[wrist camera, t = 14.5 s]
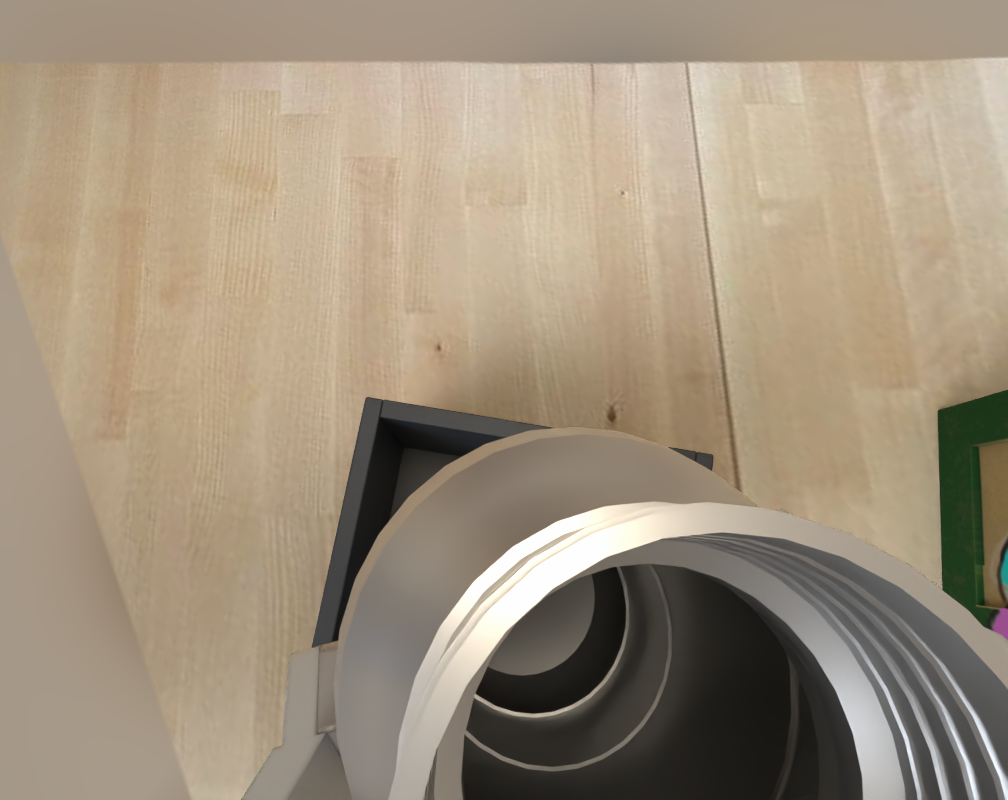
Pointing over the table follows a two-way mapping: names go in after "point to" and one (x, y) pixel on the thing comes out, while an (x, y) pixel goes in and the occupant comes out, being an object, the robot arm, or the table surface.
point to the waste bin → (401, 482)
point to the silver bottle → (650, 644)
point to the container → (976, 507)
